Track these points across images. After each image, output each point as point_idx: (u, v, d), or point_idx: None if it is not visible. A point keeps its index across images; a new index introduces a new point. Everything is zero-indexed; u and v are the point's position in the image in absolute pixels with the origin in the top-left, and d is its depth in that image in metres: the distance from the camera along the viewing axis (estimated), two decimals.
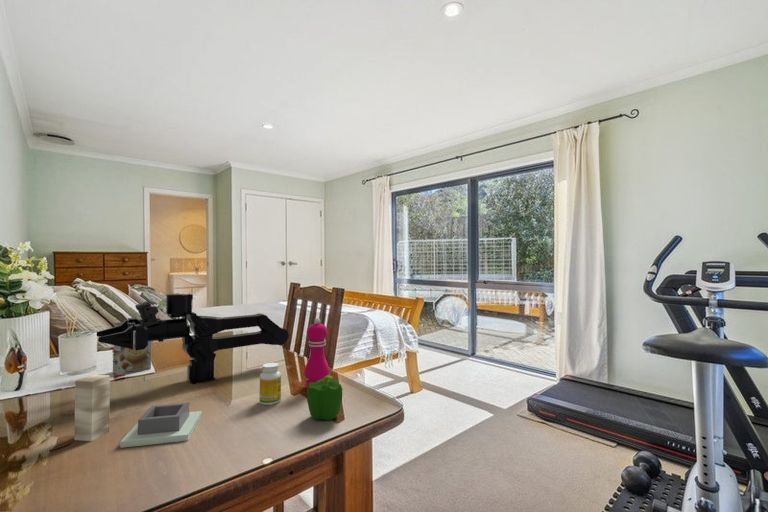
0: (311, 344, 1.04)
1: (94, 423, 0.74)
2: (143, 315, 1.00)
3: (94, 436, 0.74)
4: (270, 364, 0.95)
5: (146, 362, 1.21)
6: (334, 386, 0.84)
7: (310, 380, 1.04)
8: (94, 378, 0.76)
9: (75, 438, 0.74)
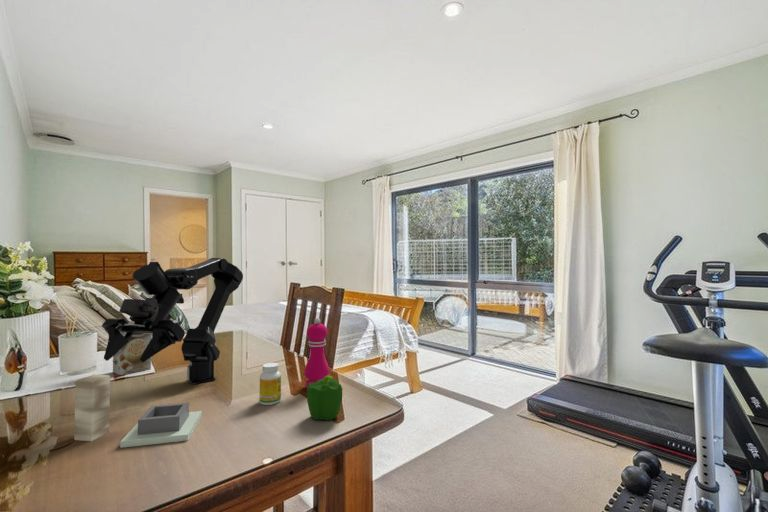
0: (311, 344, 1.04)
1: (94, 423, 0.74)
2: (145, 313, 0.87)
3: (94, 436, 0.74)
4: (270, 364, 0.95)
5: (146, 362, 1.21)
6: (334, 386, 0.84)
7: (310, 380, 1.04)
8: (94, 378, 0.76)
9: (75, 438, 0.74)
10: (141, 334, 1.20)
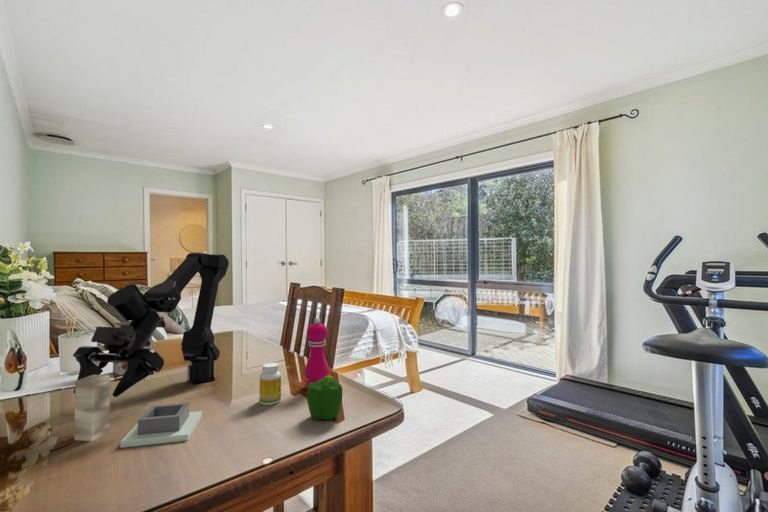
0: (311, 344, 1.04)
1: (94, 423, 0.74)
2: (119, 342, 0.80)
3: (94, 436, 0.74)
4: (270, 364, 0.95)
5: None
6: (334, 386, 0.84)
7: (310, 380, 1.04)
8: (94, 378, 0.76)
9: (75, 438, 0.74)
10: None
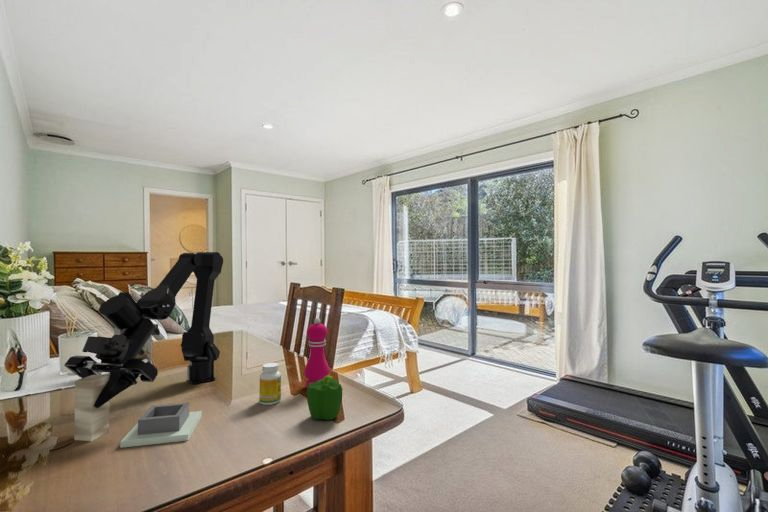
0: (311, 344, 1.04)
1: (94, 423, 0.74)
2: (112, 352, 0.78)
3: (94, 436, 0.74)
4: (270, 364, 0.95)
5: None
6: (334, 386, 0.84)
7: (310, 380, 1.04)
8: (94, 378, 0.76)
9: (75, 438, 0.74)
10: None
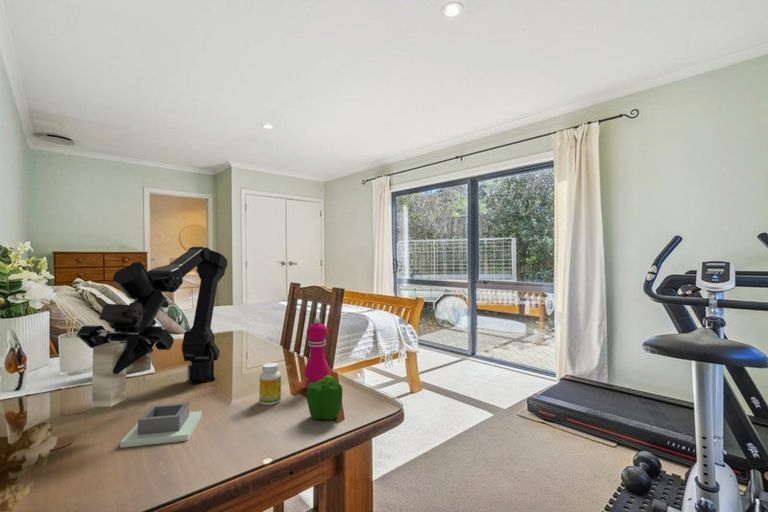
0: (311, 344, 1.04)
1: (113, 389, 0.75)
2: (129, 319, 0.78)
3: (113, 402, 0.74)
4: (270, 364, 0.95)
5: (146, 362, 1.21)
6: (334, 386, 0.84)
7: (310, 380, 1.04)
8: (111, 345, 0.76)
9: (93, 404, 0.74)
10: None
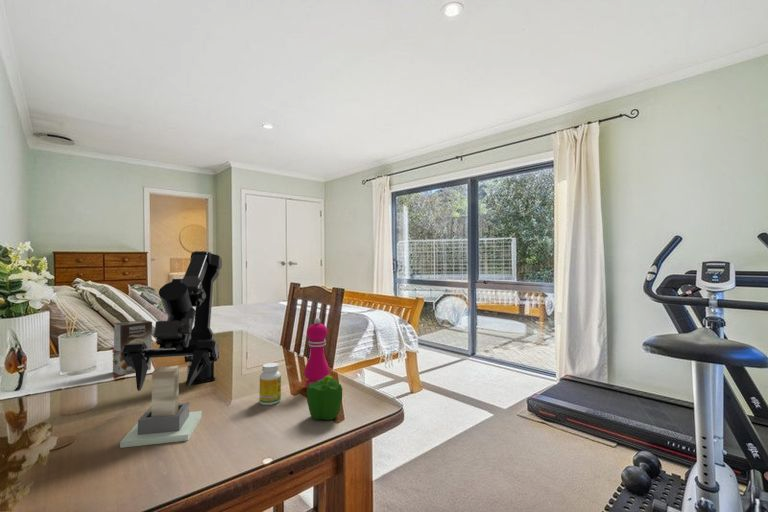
0: (311, 344, 1.04)
1: (173, 411, 0.77)
2: (181, 335, 0.81)
3: None
4: (270, 364, 0.95)
5: None
6: (334, 386, 0.84)
7: (310, 380, 1.04)
8: (168, 369, 0.78)
9: None
10: (141, 334, 1.20)
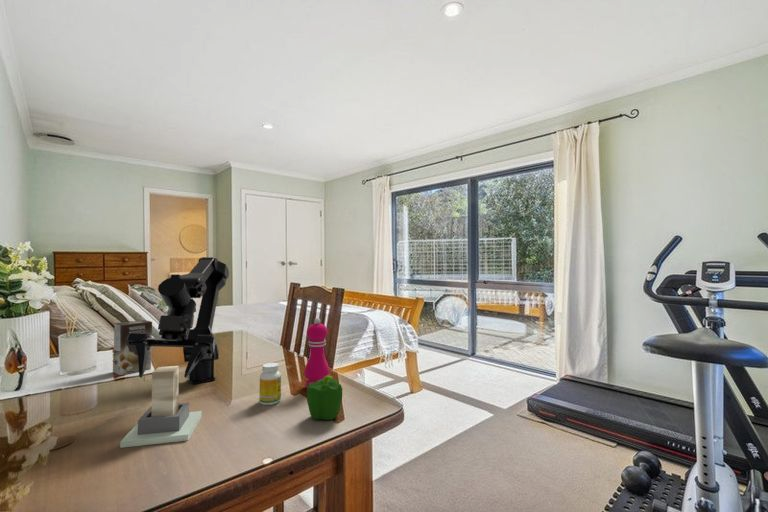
0: (311, 344, 1.04)
1: (173, 411, 0.77)
2: (182, 329, 0.87)
3: None
4: (270, 364, 0.95)
5: None
6: (334, 386, 0.84)
7: (310, 380, 1.04)
8: (168, 369, 0.78)
9: None
10: None
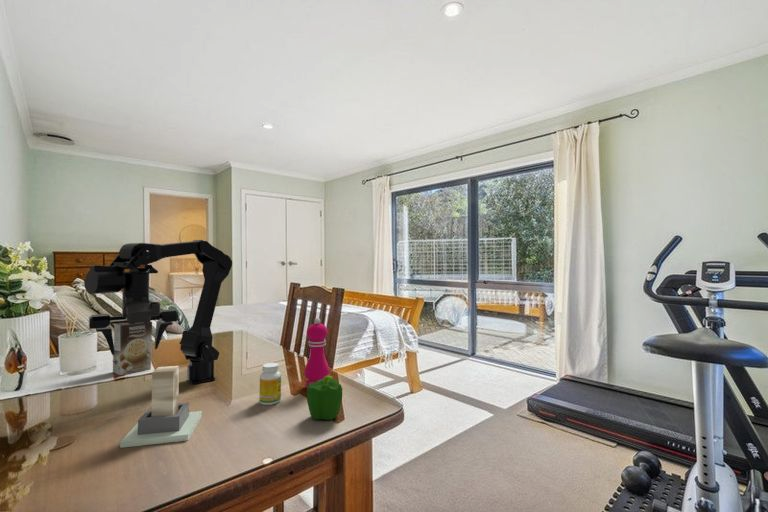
0: (311, 344, 1.04)
1: (173, 411, 0.77)
2: None
3: None
4: (270, 364, 0.95)
5: (146, 362, 1.21)
6: (334, 386, 0.84)
7: (310, 380, 1.04)
8: (168, 369, 0.78)
9: None
10: (141, 334, 1.20)
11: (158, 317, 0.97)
